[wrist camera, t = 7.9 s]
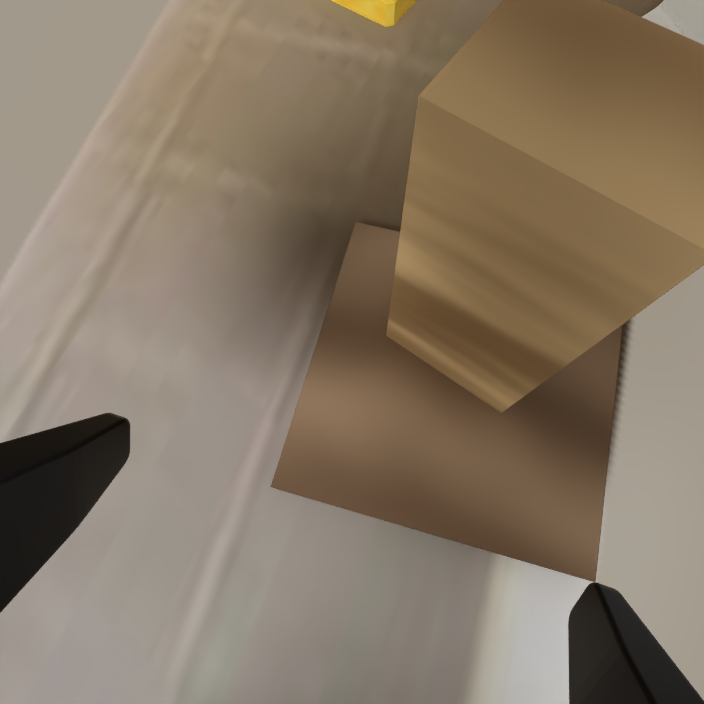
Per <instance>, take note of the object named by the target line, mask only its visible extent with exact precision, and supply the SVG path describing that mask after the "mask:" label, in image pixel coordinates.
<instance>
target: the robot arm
mask: <svg viewBox="0 0 704 704" xmlns="http://www.w3.org/2000/svg"><path fill="white" fill-rule="evenodd" d="M129 453H130V423H129V421H128V419H126V418H124V417H121V416H118V415H115V414H113V413H105V414H101V415H98V416H94V417H91V418H87V419H84V420H80V421H77V422H73V423H70V424H66V425H63V426H59V427H56V428H52V429H49V430H45V431H42V432H38V433H35V434H31V435H28V436H24V437H21V438H17V439H13V440H10V441H6V442H3V443H0V612H1V611H2V610H3V609H4V608H5V607H6V606H7V605H8V604H9V603H10V601H11V600H12V599H13V598H14V597H15V596H16V595H17V594H18V593H19V591H20V590H21V589H22V588H23V587H24V586H25V585H26V584H27V583H28V582H29V580H30V579H31V578H32V577H33V576H34V575H35V574H36V573H37V572H38V571H39V569H40V568H41V567H42V566H43V565H44V564H45V563H46V562H47V561H48V560H49V558H50V557H51V556H52V555H53V554H54V553H55V552H56V551H57V550H58V549H59V547H60V546H61V545H62V544H63V543H64V542H65V541H66V540H67V539H68V537H69V536H70V535H71V534H72V533H73V532H74V531H75V529H76V528H77V527H78V526H79V525H80V523H81V522H82V521H83V519H84V518H85V517H86V516H87V514H88V513H89V512H90V510H91V509H92V508H93V506H94V505H95V503H96V502H97V501H98V499H99V498H100V497H101V495H102V494H103V493H104V491H105V490H106V489H107V487H108V486H109V485H110V483H111V482H112V481H113V479H114V478H115V477H116V475H117V474H118V472H119V471H120V470H121V468H122V467H123V466H124V464H125V463H126V461H127V459H128V457H129ZM568 629H569V704H704V700H703V699H702V698H701V697H700V695H699V694H698V693H697V691H696V690H695V689H694V688H693V686H692V685H691V684H690V683H689V681H688V680H687V679H686V677H685V676H684V675H683V673H682V672H681V671H680V670H679V669H678V667H677V666H676V664H675V663H674V662H673V661H672V659H671V658H670V657H669V656H668V654H667V653H666V652H665V650H664V649H663V648H662V646H661V645H660V644H659V643H658V641H657V640H656V639H655V637H654V636H653V635H652V634H651V632H650V631H649V630H648V629H647V627H646V626H645V625H644V623H643V622H642V621H641V619H640V618H639V617H638V616H637V614H636V613H635V612H634V610H633V609H632V608H631V606H630V605H629V604H628V603H627V601H626V600H625V599H624V597H623V596H622V595H621V594H620V593H619V592H618V591H617V590H615V589H613V588H610V587H608V586H605V585H602V584H599V583H591V584H589V585H588V587H587V588H586V589H585V591H584V592H583V594H582V595H581V597H580V598H579V600H578V601H577V603H576V604H575V606H574V607H573V609H572V611H571V613H570V616H569V624H568Z"/></svg>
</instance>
